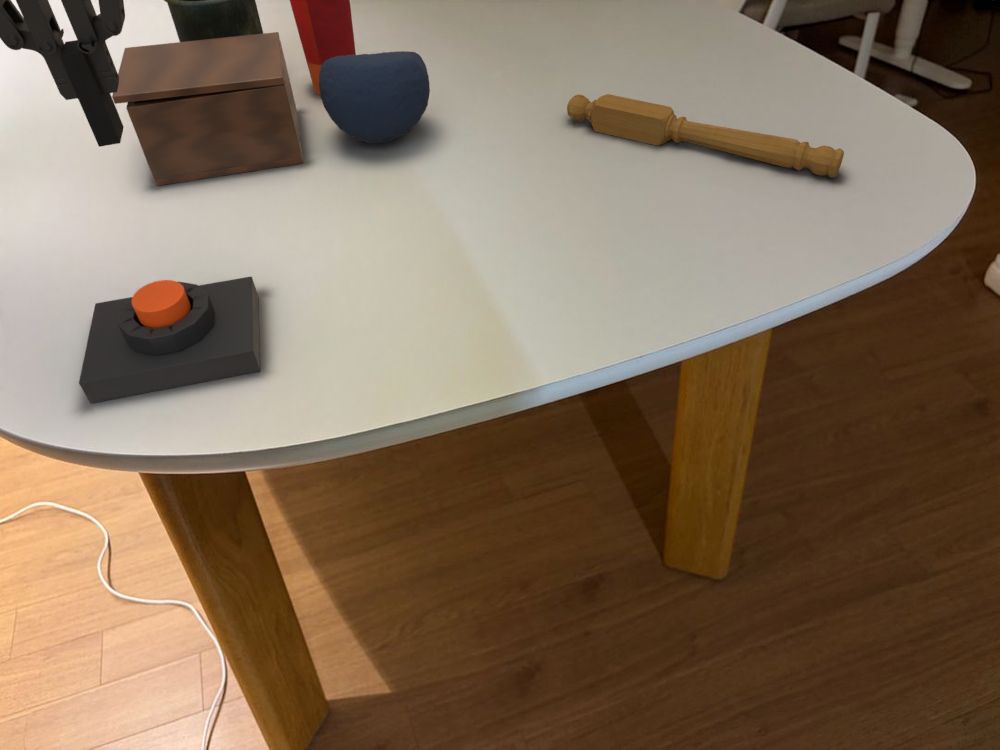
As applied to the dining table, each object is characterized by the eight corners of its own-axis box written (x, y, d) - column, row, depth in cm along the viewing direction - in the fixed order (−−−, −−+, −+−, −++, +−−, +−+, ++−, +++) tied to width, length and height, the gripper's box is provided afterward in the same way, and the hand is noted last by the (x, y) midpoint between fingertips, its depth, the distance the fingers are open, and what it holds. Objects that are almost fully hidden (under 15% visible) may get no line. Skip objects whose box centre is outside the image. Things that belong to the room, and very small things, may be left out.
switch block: (90, 403, 62) (68, 365, 59) (105, 323, 69) (86, 286, 66) (260, 371, 64) (247, 333, 61) (258, 296, 71) (246, 258, 68)
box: (156, 186, 85) (126, 107, 79) (164, 132, 94) (137, 58, 88) (303, 163, 87) (284, 85, 81) (297, 113, 96) (280, 39, 90)
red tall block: (375, 75, 103) (357, -42, 93) (354, 102, 98) (332, -19, 88) (319, 72, 105) (295, -44, 95) (295, 98, 99) (267, -21, 89)
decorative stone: (449, 147, 89) (441, 57, 82) (345, 172, 86) (327, 81, 79) (416, 104, 96) (406, 19, 90) (319, 126, 94) (301, 40, 87)
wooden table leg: (839, 157, 77) (562, 98, 89) (832, 185, 80) (562, 123, 91) (847, 143, 79) (575, 87, 91) (839, 170, 81) (574, 112, 93)
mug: (203, 111, 98) (171, 9, 90) (178, 70, 107) (146, -26, 99) (289, 89, 101) (265, -11, 93) (256, 51, 111) (232, -43, 102)
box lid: (114, 104, 79) (111, 96, 78) (127, 54, 88) (124, 47, 87) (284, 84, 81) (283, 77, 81) (279, 38, 90) (278, 31, 90)
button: (137, 332, 62) (128, 315, 61) (141, 301, 65) (133, 284, 64) (189, 323, 63) (182, 306, 61) (191, 293, 65) (185, 275, 64)
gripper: (-225, -259, 39) (7, 176, 55) (56, -284, 41) (201, 144, 57) (-171, -272, 44) (27, 128, 60) (75, -293, 46) (203, 101, 62)
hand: (111, 136), depth 59 cm, fingers closed
